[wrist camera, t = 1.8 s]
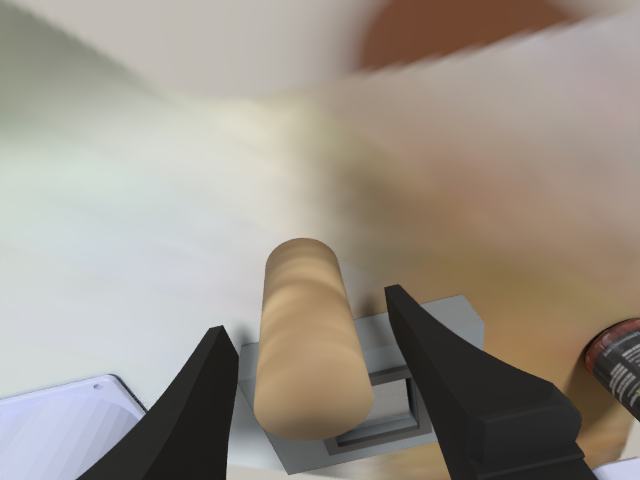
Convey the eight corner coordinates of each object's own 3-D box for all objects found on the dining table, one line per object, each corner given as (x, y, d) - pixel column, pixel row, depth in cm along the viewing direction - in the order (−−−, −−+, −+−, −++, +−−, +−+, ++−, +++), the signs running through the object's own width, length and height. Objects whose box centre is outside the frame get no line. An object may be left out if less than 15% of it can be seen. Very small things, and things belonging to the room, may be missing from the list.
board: (288, 439, 25) (288, 479, 23) (241, 346, 20) (236, 386, 18) (461, 400, 25) (480, 436, 23) (462, 294, 20) (487, 327, 17)
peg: (277, 305, 19) (273, 450, 12) (255, 248, 17) (236, 383, 10) (344, 289, 19) (380, 426, 12) (330, 230, 17) (364, 353, 10)
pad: (340, 423, 22) (341, 432, 22) (326, 381, 20) (327, 390, 20) (407, 408, 22) (410, 416, 22) (401, 364, 20) (404, 372, 19)
